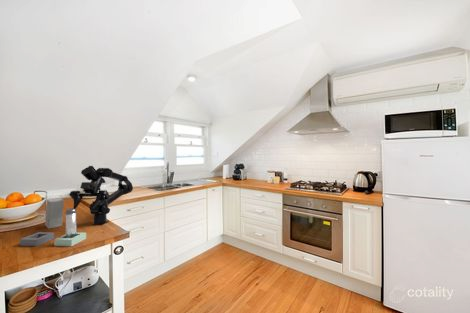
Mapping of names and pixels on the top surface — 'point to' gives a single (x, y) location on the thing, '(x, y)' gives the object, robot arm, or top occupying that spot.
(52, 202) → the skincare box
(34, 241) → the charcoal socket
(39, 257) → the top surface
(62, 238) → the sage socket
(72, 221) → the steel peg
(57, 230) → the top surface
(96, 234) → the top surface
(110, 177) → the robot arm
